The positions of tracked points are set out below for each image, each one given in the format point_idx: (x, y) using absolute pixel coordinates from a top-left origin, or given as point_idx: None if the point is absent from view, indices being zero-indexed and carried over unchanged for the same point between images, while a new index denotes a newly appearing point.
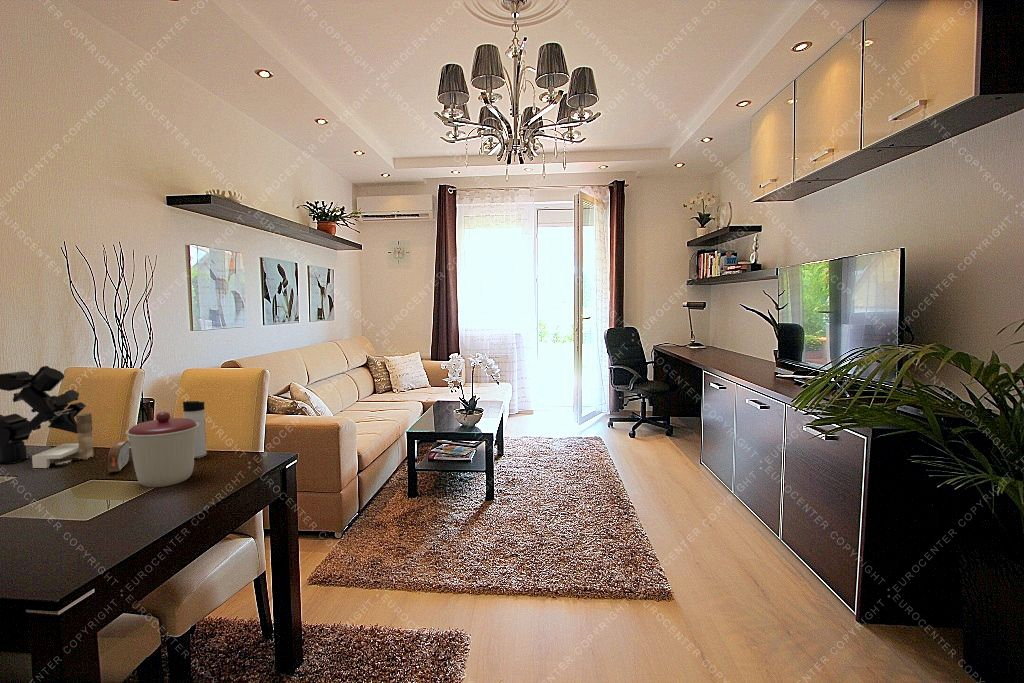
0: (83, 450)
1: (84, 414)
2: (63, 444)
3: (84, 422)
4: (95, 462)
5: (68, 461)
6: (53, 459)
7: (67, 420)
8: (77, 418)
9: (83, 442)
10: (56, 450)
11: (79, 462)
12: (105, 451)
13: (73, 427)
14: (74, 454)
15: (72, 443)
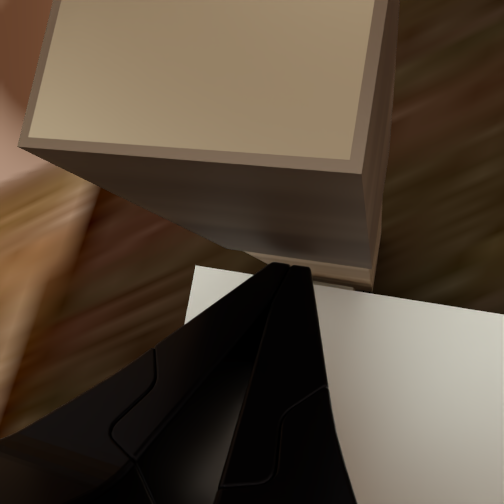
0: (377, 246)
1: (156, 23)
2: None
3: (392, 58)
4: (466, 145)
5: None
6: None
7: (290, 496)
8: (367, 173)
9: (378, 224)
10: (442, 470)
11: (433, 268)
12: (160, 221)
13: (317, 338)
14: None
15: None
